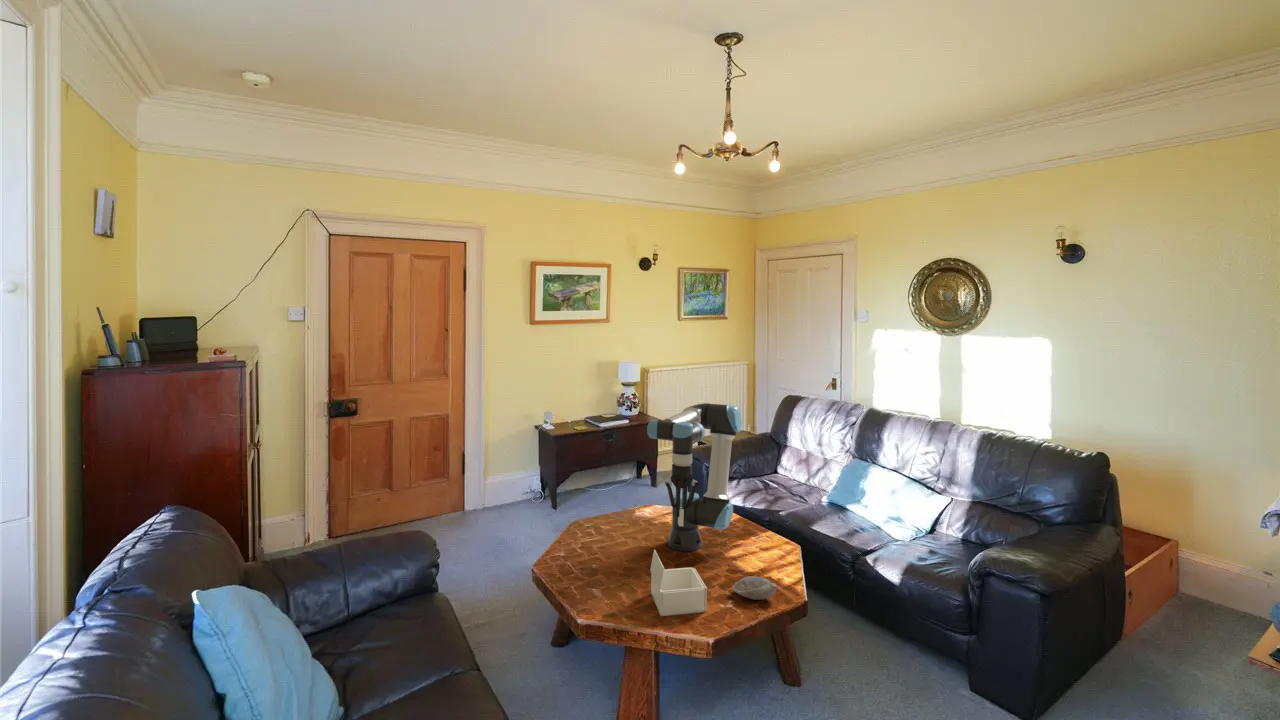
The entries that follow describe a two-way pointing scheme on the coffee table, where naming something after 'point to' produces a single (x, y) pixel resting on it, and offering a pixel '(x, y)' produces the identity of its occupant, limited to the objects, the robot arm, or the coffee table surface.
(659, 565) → the flap
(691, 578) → the white open box
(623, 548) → the coffee table surface
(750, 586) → the seashell
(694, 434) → the robot arm
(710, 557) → the coffee table surface
